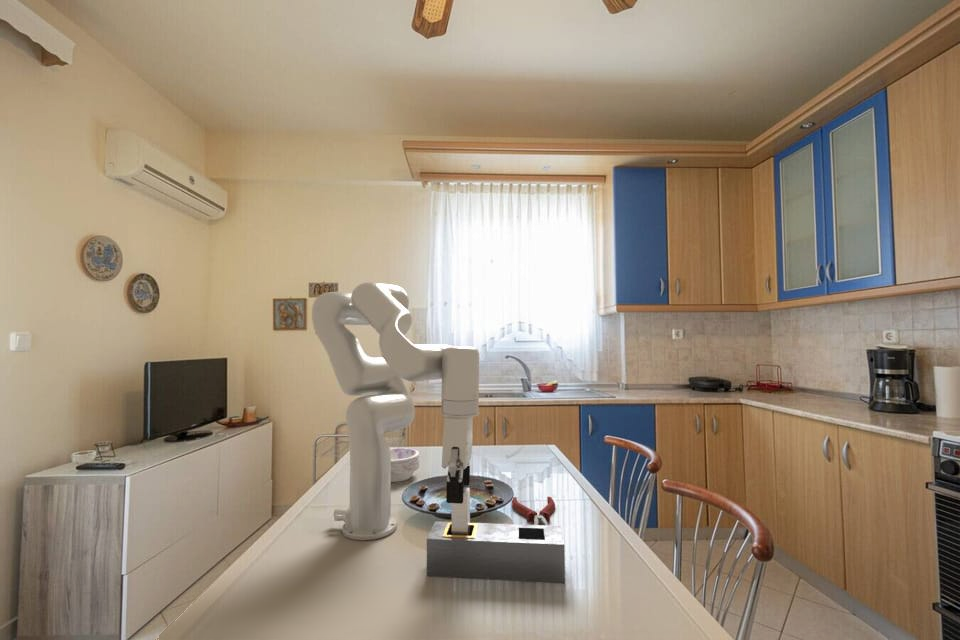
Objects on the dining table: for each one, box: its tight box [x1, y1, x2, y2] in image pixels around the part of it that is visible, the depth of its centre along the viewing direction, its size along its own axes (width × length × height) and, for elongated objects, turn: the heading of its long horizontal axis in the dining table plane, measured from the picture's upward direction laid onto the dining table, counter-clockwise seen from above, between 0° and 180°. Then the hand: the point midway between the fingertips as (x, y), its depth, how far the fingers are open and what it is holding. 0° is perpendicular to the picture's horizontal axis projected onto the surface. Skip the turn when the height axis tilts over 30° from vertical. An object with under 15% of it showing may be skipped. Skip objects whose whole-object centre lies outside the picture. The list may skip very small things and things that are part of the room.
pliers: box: [511, 496, 556, 526], centre depth 109 cm, size 12×20×3 cm, turn 1°
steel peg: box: [451, 487, 471, 536], centre depth 86 cm, size 3×3×13 cm
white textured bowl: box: [390, 447, 421, 483], centre depth 141 cm, size 15×15×8 cm
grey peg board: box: [426, 520, 566, 584], centre depth 85 cm, size 26×8×7 cm, turn 84°
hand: (458, 493), depth 87 cm, fingers open, 9 cm apart
